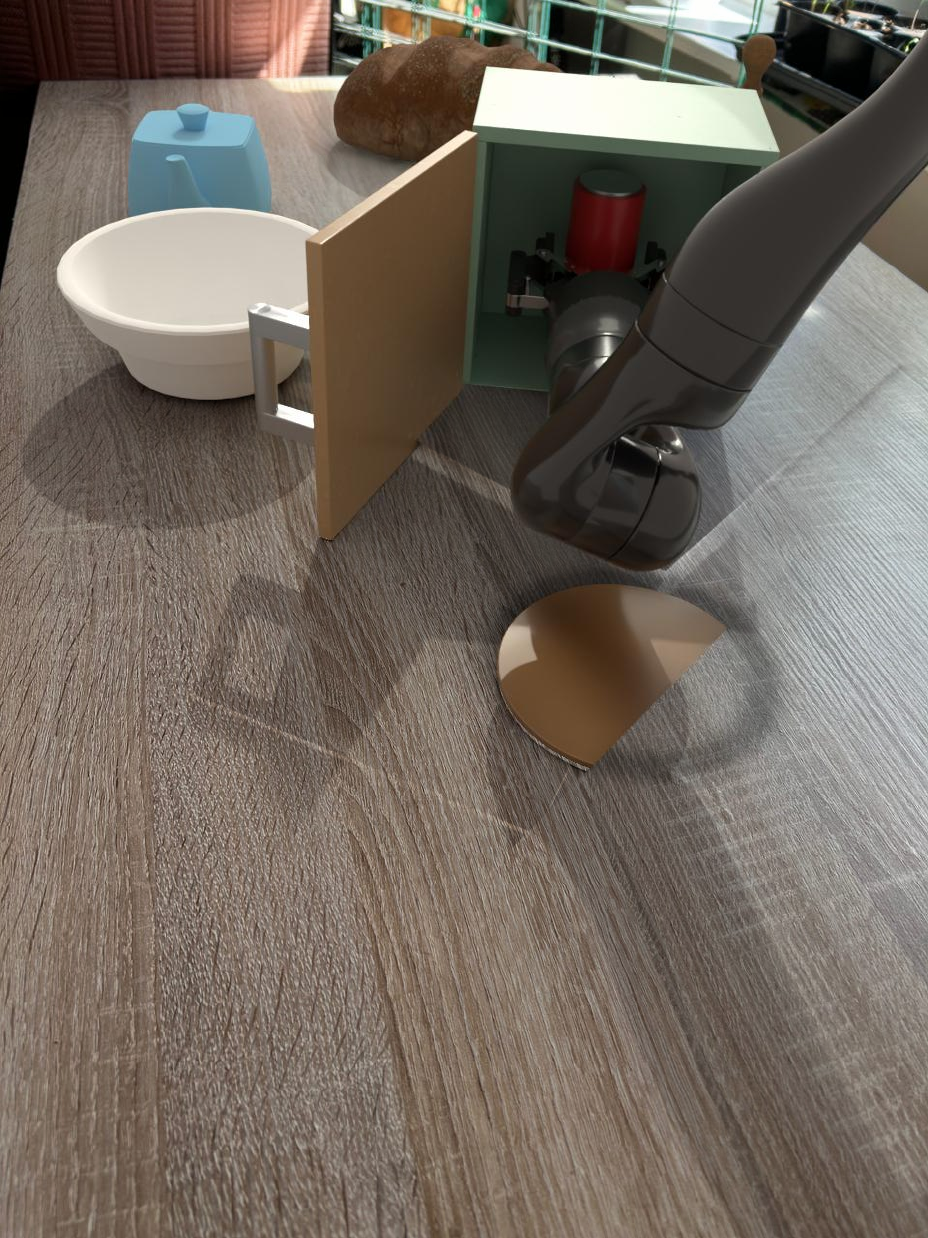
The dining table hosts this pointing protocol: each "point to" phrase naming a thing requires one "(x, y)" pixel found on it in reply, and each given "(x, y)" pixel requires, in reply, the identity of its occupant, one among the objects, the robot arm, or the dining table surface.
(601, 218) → the can
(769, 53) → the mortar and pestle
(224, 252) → the bowl
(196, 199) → the teapot
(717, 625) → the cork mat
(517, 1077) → the dining table surface
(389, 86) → the bread
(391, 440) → the wooden cabinet door
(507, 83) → the green cabinet
